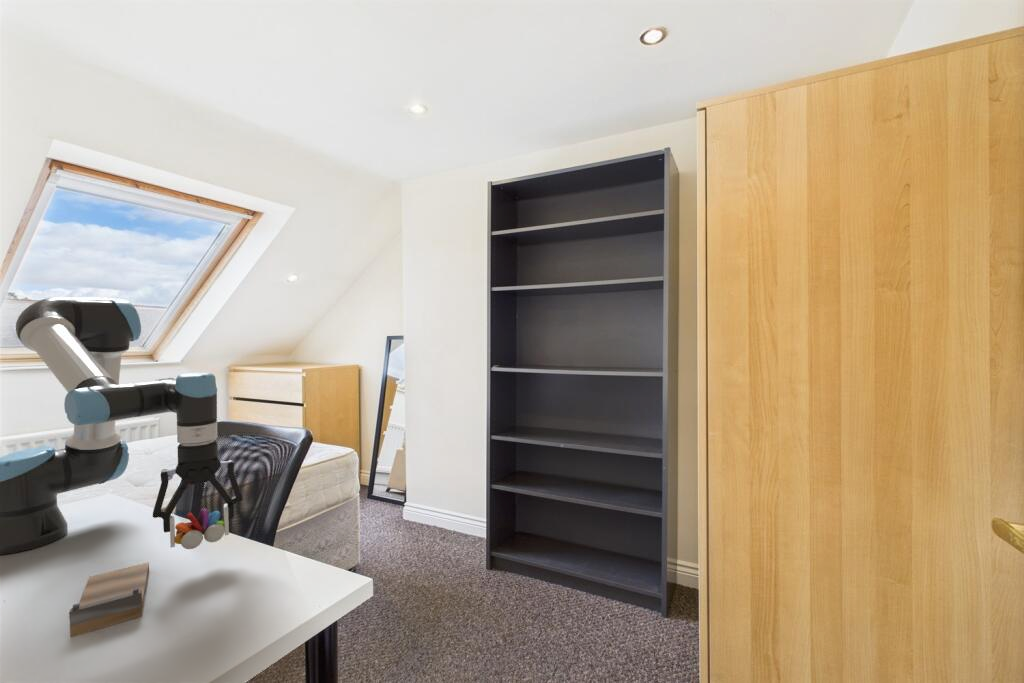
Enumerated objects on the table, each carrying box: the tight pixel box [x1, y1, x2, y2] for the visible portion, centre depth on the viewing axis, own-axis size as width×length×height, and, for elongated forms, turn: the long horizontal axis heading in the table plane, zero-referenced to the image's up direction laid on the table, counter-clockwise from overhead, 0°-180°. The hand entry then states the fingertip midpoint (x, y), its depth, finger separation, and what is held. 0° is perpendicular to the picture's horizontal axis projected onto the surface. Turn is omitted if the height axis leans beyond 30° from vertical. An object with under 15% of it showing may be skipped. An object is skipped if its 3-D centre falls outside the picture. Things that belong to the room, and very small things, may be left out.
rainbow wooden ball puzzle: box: [175, 508, 225, 550], centre depth 105 cm, size 8×10×7 cm
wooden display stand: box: [68, 562, 150, 638], centre depth 93 cm, size 20×10×5 cm, turn 35°
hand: (200, 538), depth 105 cm, fingers closed on rainbow wooden ball puzzle, 9 cm apart
